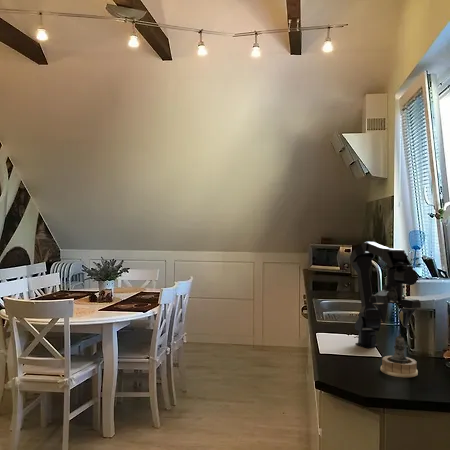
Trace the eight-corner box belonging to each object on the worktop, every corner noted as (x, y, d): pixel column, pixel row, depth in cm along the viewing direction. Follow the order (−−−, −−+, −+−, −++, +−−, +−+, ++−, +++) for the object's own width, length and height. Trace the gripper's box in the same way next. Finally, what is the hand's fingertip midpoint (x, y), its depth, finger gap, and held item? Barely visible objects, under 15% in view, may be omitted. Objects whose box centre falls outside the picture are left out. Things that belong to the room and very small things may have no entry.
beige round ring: (373, 369, 174) (373, 357, 173) (395, 364, 180) (396, 353, 180) (402, 379, 163) (402, 367, 163) (425, 374, 170) (425, 362, 170)
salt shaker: (388, 365, 175) (390, 331, 175) (406, 366, 174) (407, 332, 174) (390, 370, 170) (392, 335, 169) (409, 372, 168) (410, 336, 168)
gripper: (360, 281, 190) (359, 322, 190) (402, 285, 175) (401, 330, 174) (379, 280, 196) (379, 320, 196) (421, 284, 181) (421, 327, 181)
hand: (394, 324), depth 187 cm, fingers open, 9 cm apart
